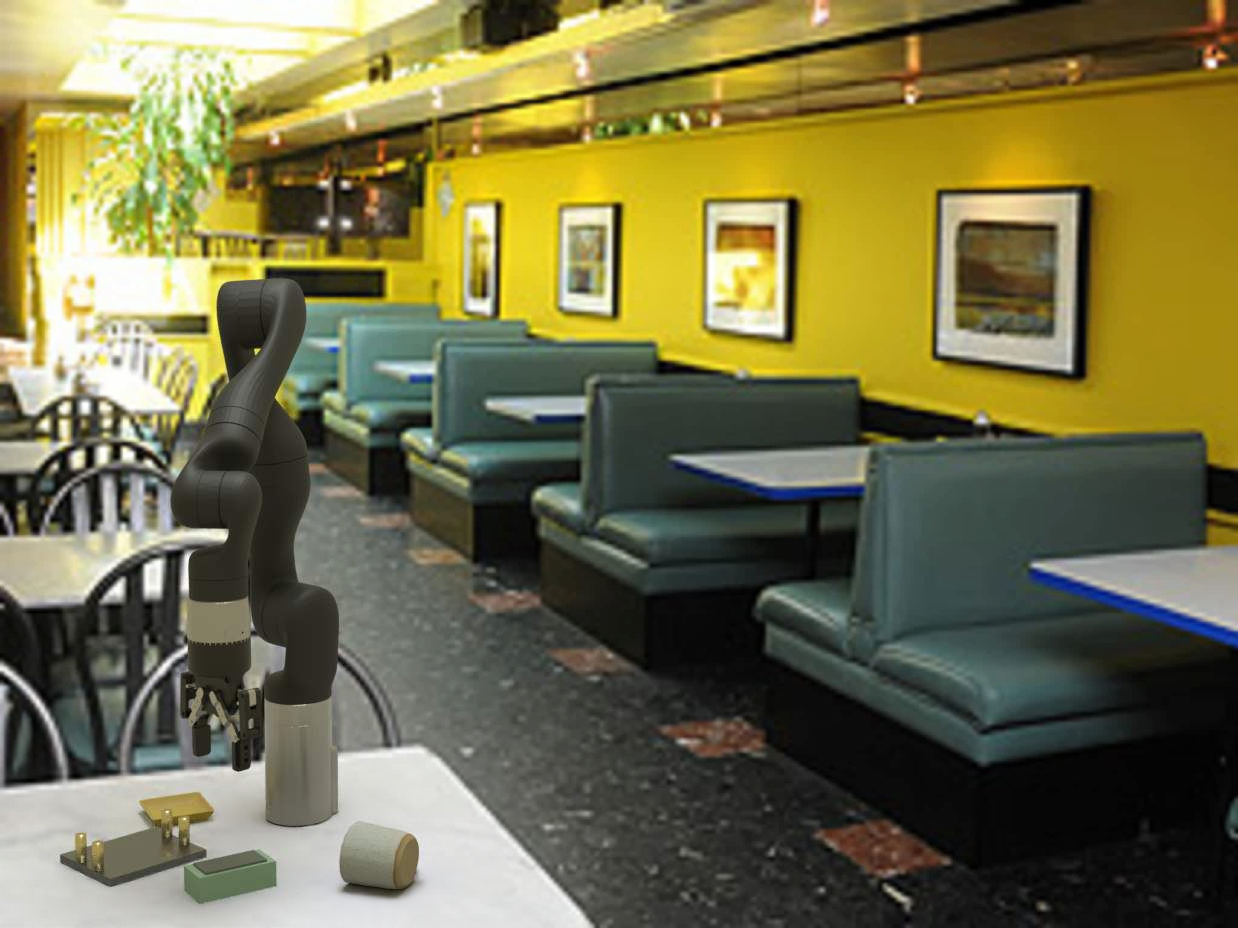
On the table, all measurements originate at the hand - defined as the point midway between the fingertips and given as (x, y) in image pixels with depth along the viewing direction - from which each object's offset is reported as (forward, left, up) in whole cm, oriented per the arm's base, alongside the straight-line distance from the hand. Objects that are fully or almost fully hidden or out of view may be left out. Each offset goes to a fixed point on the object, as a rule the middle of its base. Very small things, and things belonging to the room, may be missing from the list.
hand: (221, 762), depth 198 cm
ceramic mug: (-16, +12, -17) cm, 26 cm away
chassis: (+2, -17, -16) cm, 23 cm away
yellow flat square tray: (-11, -27, -17) cm, 33 cm away
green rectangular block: (-1, 0, -17) cm, 17 cm away
